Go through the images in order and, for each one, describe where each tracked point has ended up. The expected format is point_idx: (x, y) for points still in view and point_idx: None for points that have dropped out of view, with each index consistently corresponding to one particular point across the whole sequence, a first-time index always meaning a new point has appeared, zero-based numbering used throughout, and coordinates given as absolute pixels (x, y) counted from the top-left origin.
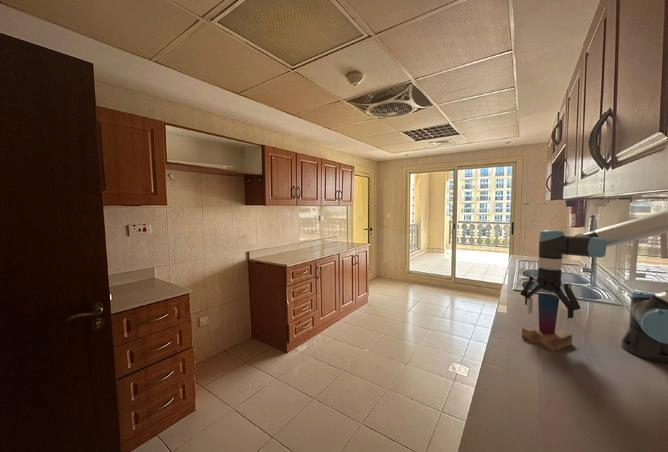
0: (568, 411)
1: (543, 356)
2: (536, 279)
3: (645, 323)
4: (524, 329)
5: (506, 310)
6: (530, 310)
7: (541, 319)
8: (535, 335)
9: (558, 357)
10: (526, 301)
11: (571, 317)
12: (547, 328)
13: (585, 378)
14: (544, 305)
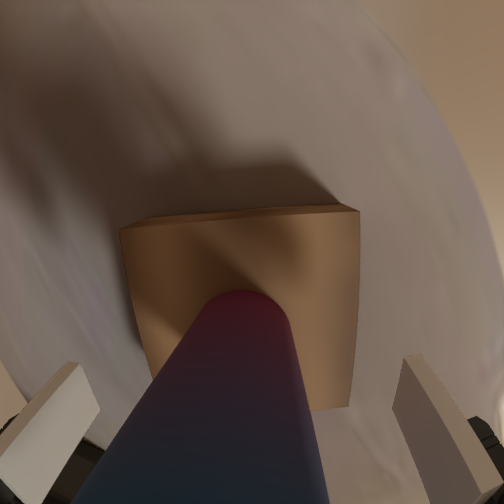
0: None
1: (131, 94)
2: None
3: None
4: (341, 211)
5: (500, 415)
6: (408, 406)
7: (243, 339)
8: (252, 214)
9: (100, 163)
10: (488, 451)
11: (11, 419)
12: (203, 314)
13: (5, 117)
14: (145, 490)
